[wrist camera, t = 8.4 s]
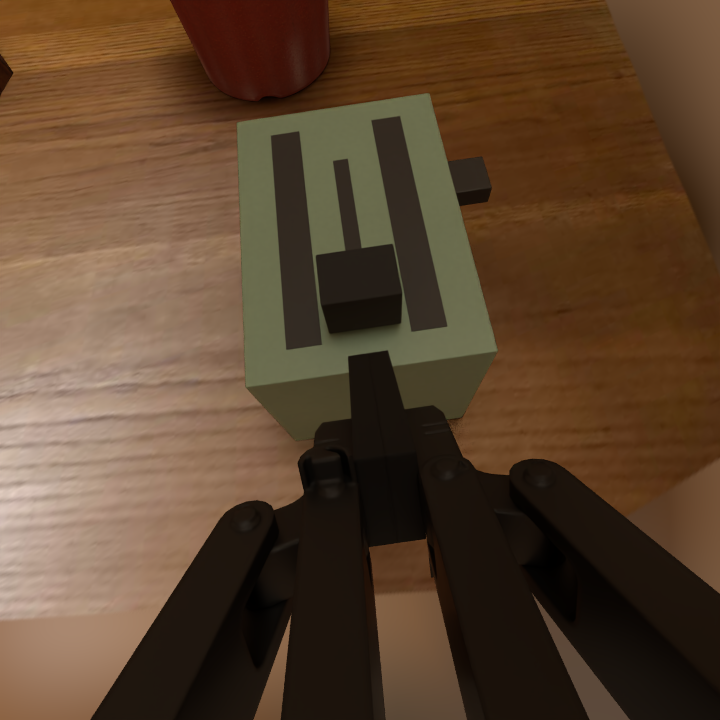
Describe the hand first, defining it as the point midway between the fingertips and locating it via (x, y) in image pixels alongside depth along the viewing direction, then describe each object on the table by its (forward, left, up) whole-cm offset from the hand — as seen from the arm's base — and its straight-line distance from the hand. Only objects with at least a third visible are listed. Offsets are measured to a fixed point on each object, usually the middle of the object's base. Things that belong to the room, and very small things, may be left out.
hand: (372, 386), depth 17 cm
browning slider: (+4, -3, -2) cm, 5 cm away
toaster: (+7, -7, -13) cm, 16 cm away
